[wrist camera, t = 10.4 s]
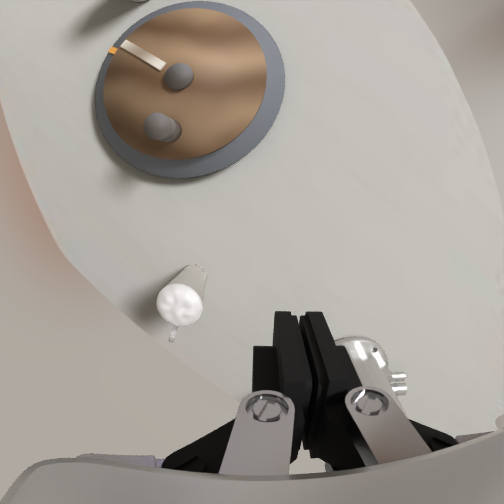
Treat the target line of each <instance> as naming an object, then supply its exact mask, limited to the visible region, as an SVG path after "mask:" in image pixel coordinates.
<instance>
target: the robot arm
mask: <svg viewBox="0 0 504 504" xmlns="http://www.w3.org/2000/svg"><path fill="white" fill-rule="evenodd" d="M404 379H405V373H404V372H395V373H392V372H391V371H389V369H388V358H387V355H386V353H385V352H384V350H383V349H382V347H381V346H380V345H379V344H378V343H376V342H375V341H373V340H371V339H368V338H363V337H349V338H344V339H340V340H337V341H335V342H334V339H333V337H332V335H331V332H330V330H329V327H328V325H327V323H326V320H325V318H324V316H323V313H322V312H306V314H305V316H300V321H299V324H298V320H297V316H295V315H291V312H286V311H275V317H274V333H273V346H254V347H253V377H252V393H251V394H248V395H247V396H246V397H245V398H243V399H242V401H241V403H240V406H239V409H238V412H237V416H236V418H235V419H233V420H232V421H230V422H228V423H227V424H225V425H223V426H221V427H220V428H218V429H217V430H214V431H213V432H211V433H209V434H207V435H206V436H204V437H202V438H200V439H198V440H196V441H195V442H193V443H191V444H189V445H187V446H185V447H183V448H181V449H179V450H177V451H176V452H174V453H172V454H170V455H169V456H168V457H166V459H155V456H130V455H107V454H93V453H90V454H82V455H80V456H77V457H76V458H58V459H50V460H44V461H41V462H38V463H35V464H33V465H32V466H30V467H28V468H27V469H26V470H25V471H24V472H23V473H22V474H21V475H20V476H19V477H18V478H17V479H16V481H15V482H14V483H13V484H12V486H11V487H10V488H9V489H8V491H7V492H6V494H5V495H4V497H3V498H2V500H1V501H0V504H504V428H501V429H499V430H496V431H492V432H485V433H477V434H469V435H459V436H456V438H455V439H454V438H453V437H452V436H450V435H448V434H446V433H443V432H440V431H438V430H435V429H432V428H430V427H427V426H425V425H422V424H420V423H417V422H415V421H412V420H410V419H408V417H407V415H406V413H405V411H404V409H403V407H402V405H401V403H400V402H399V400H398V398H397V396H399V395H405V394H406V391H407V386H406V384H405V383H395V384H390V382H391V381H404ZM301 441H302V442H303V448H304V450H309V451H310V457H311V458H320V459H322V460H323V461H325V470H326V472H323V473H310V474H294V475H289V466H290V464H291V463H292V462H293V461H294V460H296V458H297V455H298V451H299V449H300V446H301Z"/></svg>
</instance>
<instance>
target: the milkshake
mask: <svg viewBox="0 0 504 504" xmlns="http://www.w3.org/2000/svg"><path fill="white" fill-rule="evenodd" d="M206 280H207V275H206V273H205V271H204V269H203V268H201V267H200V266H198V265H188V266H186V267H185V268H184V269H183V270H182V271H181V272H180V273H179V274H178V275H177V276H176V277H175V278H174V279H173V280H172V281H171V282H170V283H168V284H167V285H166V286H165V287H164V288H163V289H162V290H161V291H160V292H159V294H158V297H157V303H156V306H157V309H158V311H159V313H160V315H161V316H162V318H163V319H164V320H165V321H167V322H168V323H170V324H173V325H174V326H173V329H172V332H171V335H170V338H169V342H173V341H174V338H175V335H176V332H177V329H178V326H189V325H191V324H193V323H194V322H196V321H197V320H198V319H199V317H200V315H201V312H202V306H203V298H204V290H205V286H206Z"/></svg>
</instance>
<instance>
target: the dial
mask: <svg viewBox="0 0 504 504" xmlns="http://www.w3.org/2000/svg"><path fill="white" fill-rule="evenodd" d="M266 80H267V69H266V61H265V57H264V54H263V51H262V49H261V46H260V44H259V43H258V41H257V39H256V38H255V36H254V35H253V34H252V33H251V31H250V30H249V29H248V28H247V27H245V26H244V25H243V24H242V23H241V22H239V21H238V20H236V19H235V18H233V17H231V16H229V15H227V14H224V13H221V12H218V11H215V10H210V9H202V8H187V9H179V10H174V11H171V12H167V13H164V14H161V15H159V16H157V17H154V18H153V19H151V20H149V21H147V22H145V23H144V24H142V25H141V26H140V27H138V28H137V29H136V30H134V31H133V32H132V33H131V34H130V35H129V36H128V37H127V38H126V39H125V40H124V41H123V42H122V44H121V45H120V47H119V48H118V49H117V51H116V52H115V54H114V56H113V58H112V60H111V62H110V64H109V67H108V69H107V73H106V76H105V81H104V94H103V98H104V106H105V110H106V113H107V117H108V119H109V121H110V123H111V125H112V127H113V128H114V130H115V132H116V133H117V134H118V135H119V136H120V138H121V139H122V140H123V141H124V142H126V143H127V144H128V145H129V146H131V147H132V148H134V149H135V150H137V151H139V152H141V153H143V154H146V155H148V156H152V157H155V158H161V159H169V160H184V159H193V158H197V157H202V156H205V155H207V154H210V153H213V152H215V151H217V150H219V149H221V148H223V147H225V146H226V145H228V144H229V143H231V142H232V141H233V140H235V139H236V138H237V137H238V136H239V135H240V134H241V133H242V132H243V131H244V130H245V129H246V128H247V127H248V126H249V124H250V123H251V122H252V120H253V119H254V118H255V116H256V114H257V112H258V110H259V108H260V106H261V103H262V101H263V98H264V93H265V89H266Z"/></svg>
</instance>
